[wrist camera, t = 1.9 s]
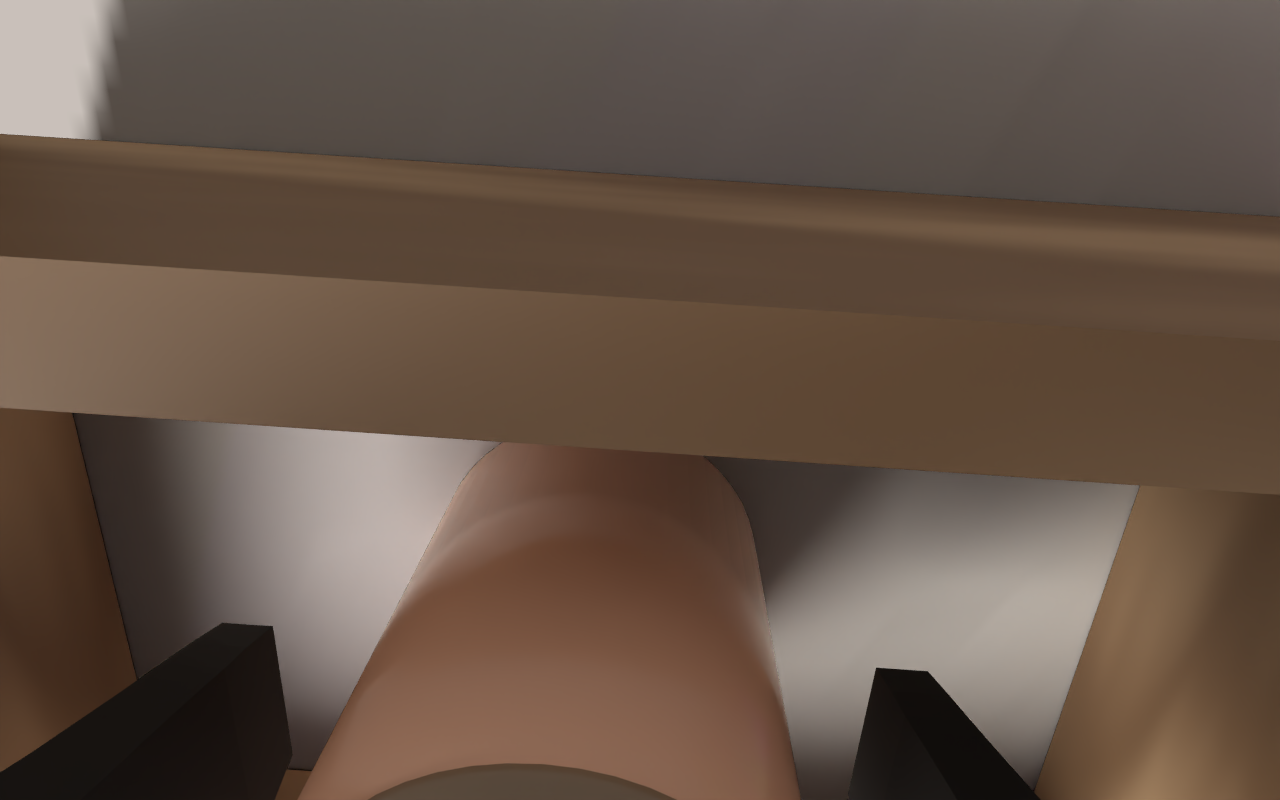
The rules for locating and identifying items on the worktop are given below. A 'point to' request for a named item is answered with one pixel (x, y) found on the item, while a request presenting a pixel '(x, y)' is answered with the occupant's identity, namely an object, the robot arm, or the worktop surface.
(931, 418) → the tray
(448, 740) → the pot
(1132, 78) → the worktop surface
